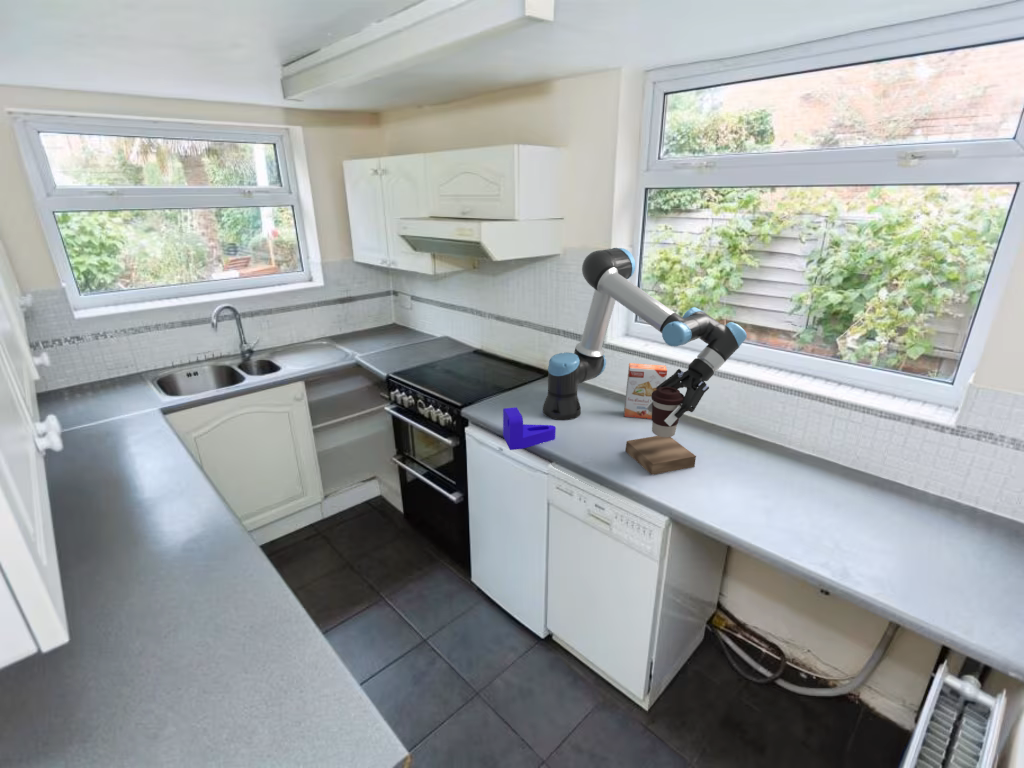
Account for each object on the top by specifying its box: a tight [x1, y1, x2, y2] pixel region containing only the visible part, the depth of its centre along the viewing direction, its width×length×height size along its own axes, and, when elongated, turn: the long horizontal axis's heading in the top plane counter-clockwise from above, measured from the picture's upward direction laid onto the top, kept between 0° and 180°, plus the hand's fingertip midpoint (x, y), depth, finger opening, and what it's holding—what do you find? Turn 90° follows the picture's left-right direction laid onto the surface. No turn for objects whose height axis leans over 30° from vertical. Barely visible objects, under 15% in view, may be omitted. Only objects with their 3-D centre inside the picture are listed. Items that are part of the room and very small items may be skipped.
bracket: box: [502, 406, 557, 451], centre depth 178 cm, size 18×11×12 cm, turn 103°
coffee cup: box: [651, 387, 685, 438], centre depth 161 cm, size 10×10×15 cm
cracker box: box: [623, 362, 668, 420], centre depth 195 cm, size 14×6×21 cm, turn 80°
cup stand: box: [625, 435, 697, 476], centre depth 167 cm, size 16×16×4 cm
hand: (657, 416), depth 161 cm, fingers closed on coffee cup, 10 cm apart
